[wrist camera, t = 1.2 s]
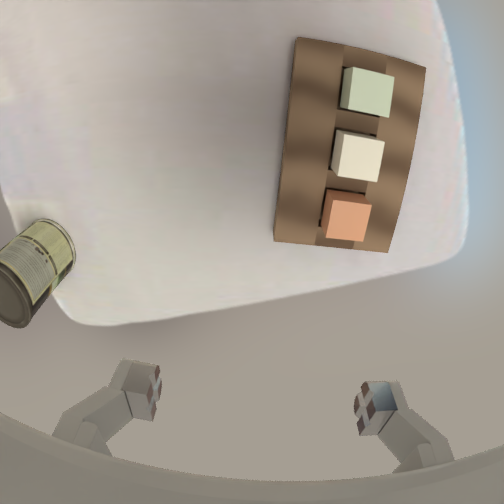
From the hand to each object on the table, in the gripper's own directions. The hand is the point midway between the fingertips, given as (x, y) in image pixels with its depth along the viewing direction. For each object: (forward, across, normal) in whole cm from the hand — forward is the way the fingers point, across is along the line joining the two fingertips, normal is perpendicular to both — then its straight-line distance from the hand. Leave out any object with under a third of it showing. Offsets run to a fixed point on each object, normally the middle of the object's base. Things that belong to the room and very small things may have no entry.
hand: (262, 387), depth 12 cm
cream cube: (+27, -9, -6) cm, 29 cm away
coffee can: (+30, +32, +13) cm, 46 cm away
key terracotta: (+27, -9, +1) cm, 29 cm away
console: (+30, -9, -6) cm, 32 cm away
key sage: (+27, -9, -13) cm, 31 cm away
